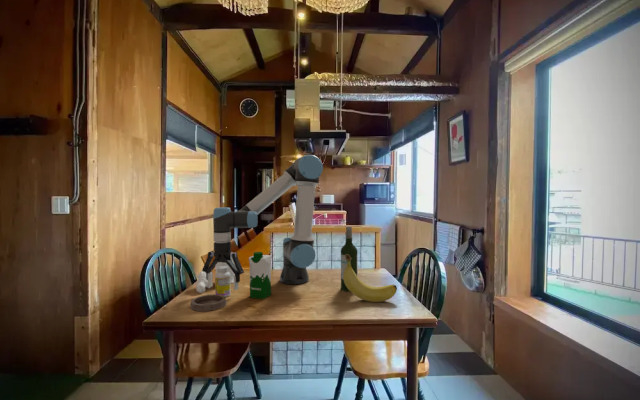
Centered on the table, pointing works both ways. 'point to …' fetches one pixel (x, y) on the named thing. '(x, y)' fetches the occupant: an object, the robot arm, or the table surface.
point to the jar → (228, 269)
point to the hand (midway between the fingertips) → (222, 288)
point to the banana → (366, 286)
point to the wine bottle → (352, 252)
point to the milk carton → (260, 275)
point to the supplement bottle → (222, 281)
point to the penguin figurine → (201, 282)
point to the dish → (208, 303)
